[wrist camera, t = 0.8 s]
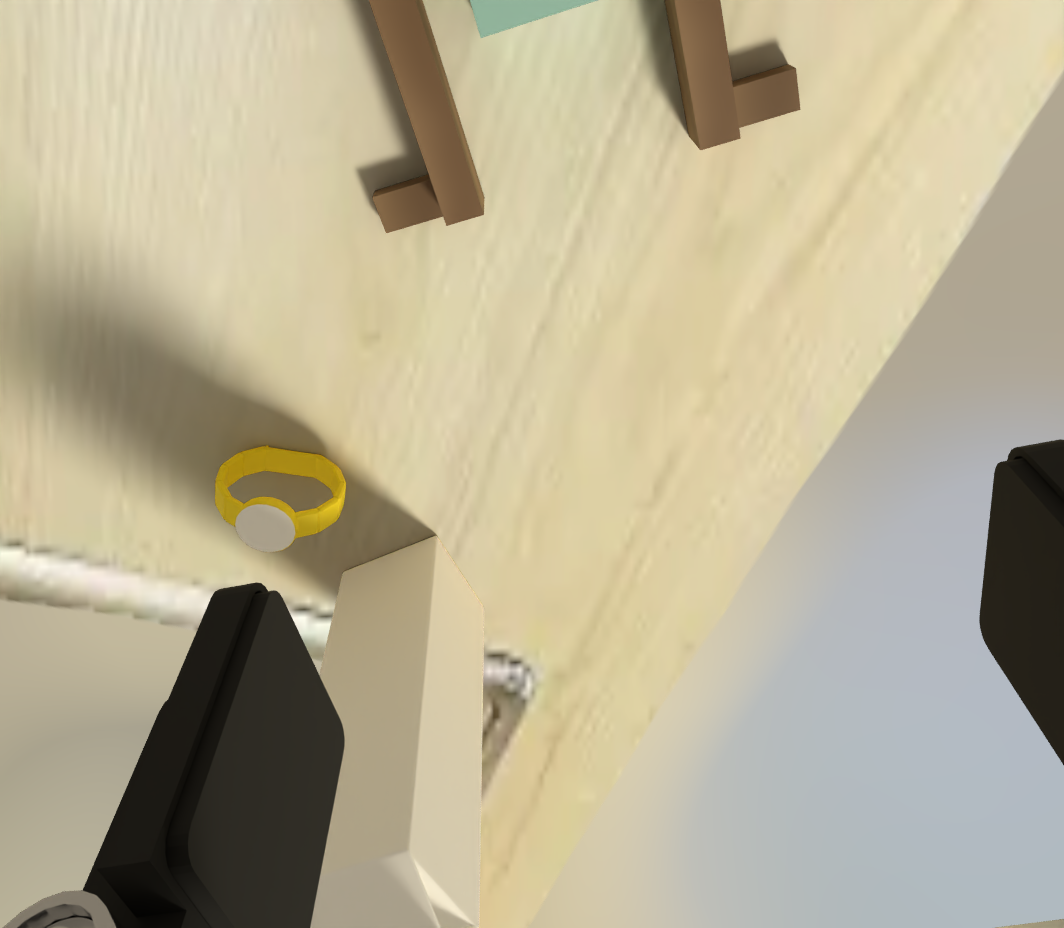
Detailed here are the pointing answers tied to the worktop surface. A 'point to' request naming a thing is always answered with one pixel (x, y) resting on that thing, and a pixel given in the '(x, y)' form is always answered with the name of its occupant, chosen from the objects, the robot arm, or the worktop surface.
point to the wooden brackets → (440, 136)
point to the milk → (405, 745)
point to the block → (516, 12)
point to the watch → (270, 518)
